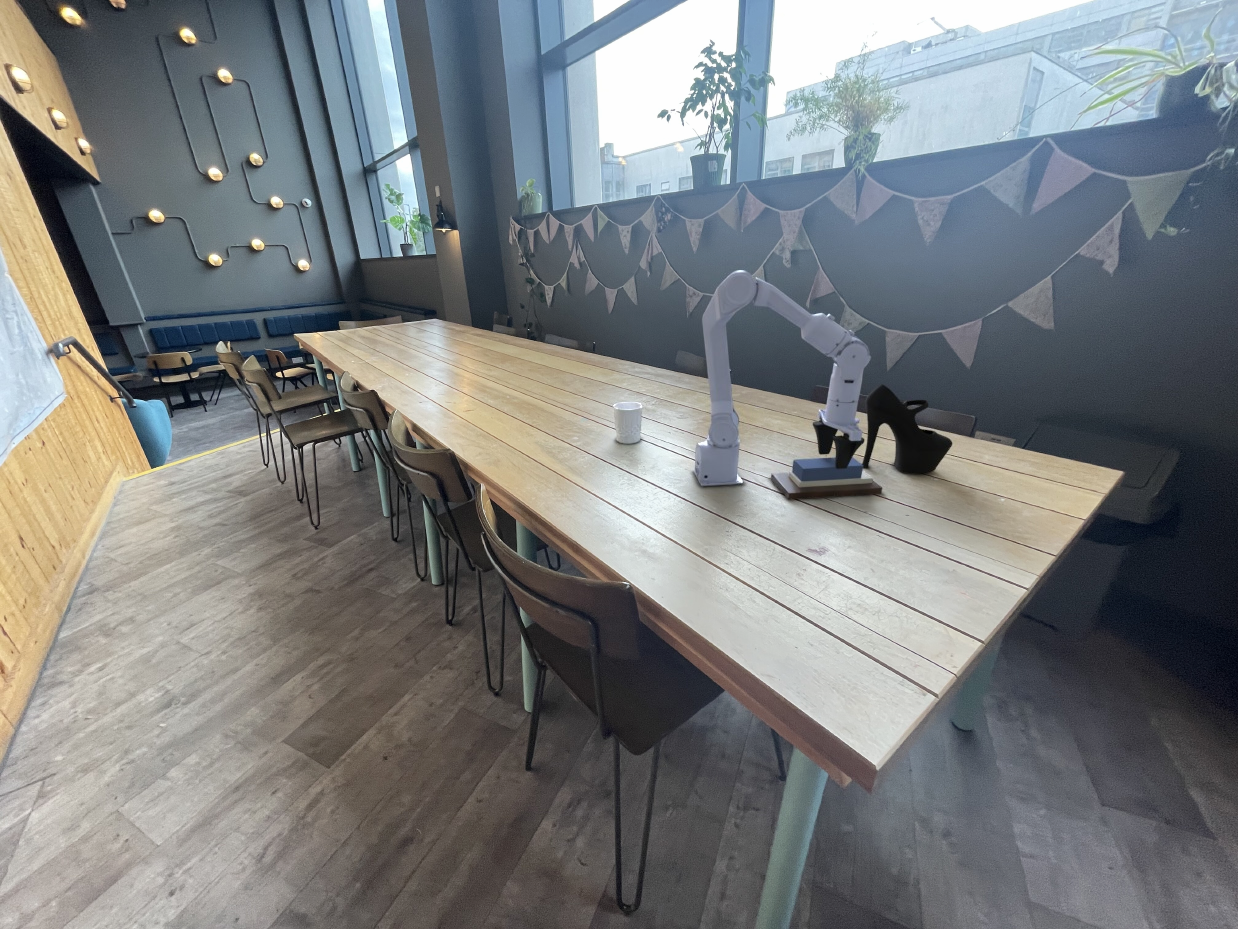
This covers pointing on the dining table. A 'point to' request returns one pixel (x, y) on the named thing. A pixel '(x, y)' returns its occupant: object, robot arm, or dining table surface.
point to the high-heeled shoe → (904, 432)
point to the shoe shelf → (821, 488)
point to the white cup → (628, 421)
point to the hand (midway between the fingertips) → (832, 460)
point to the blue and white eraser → (827, 473)
